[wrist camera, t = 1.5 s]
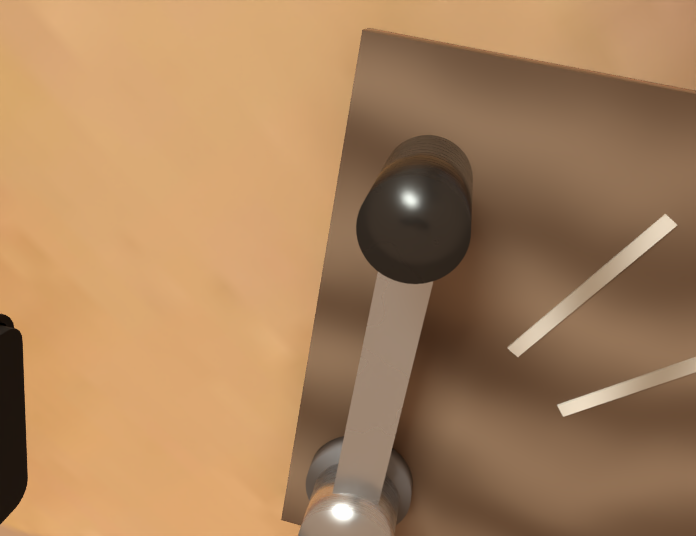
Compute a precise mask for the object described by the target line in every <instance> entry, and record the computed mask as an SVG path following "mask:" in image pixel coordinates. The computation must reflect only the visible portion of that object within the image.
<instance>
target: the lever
mask: <svg viewBox="0 0 696 536" xmlns="http://www.w3.org/2000/svg"><path fill="white" fill-rule="evenodd" d="M472 192H473V172H472V168H471V165H470V162H469V160H468V158H467V156H466V155H465V153H464V152H463V151H462V150H461V149H460V148H459V147H458V146H457V145H456V144H454V143H453V142H451V141H450V140H448V139H445V138H443V137H439V136H434V135H421V136H416V137H413V138H410V139H408V140H406V141H404V142H403V143H401V144H400V145H399V146H397V147H396V148H395V149H394V150H393V152H392V153H391V154H390V156H389V157H388V159H387V161H386V163H385V164H384V166H383V168H382V170H381V172H380V173H379V175H378V177H377V179H376V180H375V182H374V184H373V186H372V188H371V189H370V191H369V193H368V195H367V196H366V198H365V200H364V202H363V204H362V205H361V208H360V210H359V213H358V217H357V222H356V235H357V240H358V244H359V247H360V249H361V251H362V253H363V255H364V257H365V258H366V260H367V261H368V262H369V263H370V265H371V266H372V267H373V268H374V269H375V270H377V271H378V274H377V279H376V283H375V288H374V293H373V298H372V303H371V308H370V313H369V318H368V322H367V327H366V332H365V337H364V342H363V347H362V352H361V357H360V361H359V366H358V371H357V376H356V381H355V386H354V391H353V395H352V400H351V405H350V410H349V415H348V420H347V425H346V430H345V434H344V439H343V444H342V449H341V454H340V459H339V464H335V465H333V466H330V467H329V468H327V469H326V470H324V471H323V472H322V473H321V474H320V476H319V477H318V479H317V481H316V483H315V486H314V489H313V492H312V495H311V498H310V501H309V504H308V507H307V510H306V513H305V516H304V519H303V522H302V525H301V528H300V531H299V535H298V536H394V534H395V527H396V521H397V515H398V508H399V495H398V492H397V490H396V488H395V486H394V484H393V483H392V481H391V480H390V479H389V478H388V477H387V476H386V472H387V467H388V463H389V459H390V455H391V451H392V447H393V443H394V439H395V435H396V431H397V427H398V423H399V419H400V415H401V411H402V407H403V403H404V398H405V394H406V390H407V386H408V382H409V378H410V374H411V370H412V366H413V362H414V358H415V354H416V350H417V346H418V342H419V338H420V334H421V330H422V325H423V321H424V317H425V313H426V309H427V305H428V301H429V297H430V293H431V289H432V285H433V281H435V280H438V279H440V278H442V277H444V276H446V275H447V274H449V273H450V272H451V271H453V270H454V269H455V268H456V267H457V266H458V265H459V264H460V262H461V261H462V259H463V258H464V256H465V254H466V252H467V250H468V247H469V244H470V239H471V220H472Z"/></svg>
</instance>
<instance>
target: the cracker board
mask: <svg viewBox="0 0 696 536" xmlns="http://www.w3.org/2000/svg"><path fill="white" fill-rule="evenodd" d="M421 135H434V136H439V137H443V138H445V139H448V140H450V141H451V142H453V143H454V144H456V145H457V146H458V147H459V148H460V149H461V150H462V151H463V152H464V153H465V155H466V156H467V158H468V160H469V162H470V165H471V168H472V172H473V192H472V220H471V239H470V244H469V247H468V250H467V252H466V254H465V256H464V258H463V259H462V261H461V262H460V264H459V265H458V266H457V267H456V268H455V269H454V270H453V271H451V272H450V273H449V274H447V275H446V276H444V277H442V278H440V279H438V280H435V281H433V285H432V289H431V293H430V297H429V301H428V305H427V309H426V313H425V317H424V321H423V325H422V330H421V334H420V338H419V342H418V346H417V350H416V354H415V358H414V362H413V366H412V370H411V374H410V378H409V382H408V386H407V390H406V394H405V398H404V403H403V407H402V411H401V415H400V419H399V423H398V427H397V431H396V435H395V439H394V443H393V447H392V451H391V455H390V459H389V463H388V467H387V472H386V476H387V477H388V478H389V479H390V480H391V481H392V483H393V484H394V486H395V488H396V490H397V492H398V495H399V508H398V515H397V521H396V527H395V534H394V536H696V91H694V90H688V89H683V88H678V87H673V86H668V85H662V84H657V83H652V82H647V81H642V80H636V79H631V78H626V77H621V76H616V75H610V74H605V73H600V72H595V71H590V70H584V69H579V68H574V67H569V66H563V65H558V64H553V63H548V62H543V61H537V60H532V59H527V58H522V57H517V56H511V55H506V54H501V53H496V52H491V51H485V50H480V49H475V48H470V47H465V46H459V45H454V44H449V43H444V42H439V41H433V40H428V39H423V38H418V37H412V36H407V35H402V34H397V33H392V32H386V31H381V30H376V29H371V28H368V29H364V30H362V36H361V42H360V48H359V54H358V60H357V66H356V72H355V78H354V84H353V90H352V96H351V102H350V109H349V115H348V121H347V127H346V133H345V139H344V145H343V151H342V157H341V163H340V169H339V175H338V181H337V187H336V193H335V199H334V205H333V211H332V217H331V223H330V229H329V235H328V241H327V247H326V253H325V259H324V265H323V272H322V278H321V284H320V290H319V296H318V302H317V308H316V314H315V320H314V326H313V332H312V338H311V344H310V350H309V356H308V362H307V368H306V374H305V380H304V386H303V392H302V398H301V404H300V410H299V416H298V422H297V428H296V435H295V441H294V447H293V453H292V459H291V465H290V471H289V477H288V483H287V489H286V495H285V501H284V507H283V513H282V519H281V520H283V521H287V522H291V523H294V524H298V525H302V522H303V519H304V516H305V513H306V510H307V507H308V504H309V501H310V498H311V495H312V492H313V489H314V486H315V483H316V481H317V479H318V477H319V476H320V474H321V473H322V472H323V471H324V470H326V469H327V468H329V467H330V466H333V465H335V464H339V459H340V454H341V449H342V444H343V439H344V434H345V430H346V425H347V420H348V415H349V410H350V405H351V400H352V395H353V391H354V386H355V381H356V376H357V371H358V366H359V361H360V357H361V352H362V347H363V342H364V337H365V332H366V327H367V322H368V318H369V313H370V308H371V303H372V298H373V293H374V288H375V283H376V279H377V274H378V271H377V270H375V269H374V268H373V267H372V266H371V265H370V263H369V262H368V261H367V260H366V258H365V257H364V255H363V253H362V251H361V249H360V247H359V244H358V240H357V235H356V222H357V217H358V213H359V210H360V208H361V205H362V204H363V202H364V200H365V198H366V196H367V195H368V193H369V191H370V189H371V188H372V186H373V184H374V182H375V180H376V179H377V177H378V175H379V173H380V172H381V170H382V168H383V166H384V164H385V163H386V161H387V159H388V157H389V156H390V154H391V153H392V152H393V150H394V149H395V148H396V147H397V146H399V145H400V144H401V143H403V142H404V141H406V140H408V139H410V138H413V137H416V136H421Z"/></svg>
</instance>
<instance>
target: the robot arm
mask: <svg viewBox="0 0 696 536" xmlns="http://www.w3.org/2000/svg"><path fill="white" fill-rule="evenodd" d="M27 480H28V475H27V448H26V421H25V395H24V368H23V342H22V335H21V333H20V331H19V330H17V329H15V328H14V325H13V322H12V320H11V319H10V318H9V317H8V316H6V315H3V314H0V524H1V523H2V522H3V521H4V520H5V519H6V518H7V517H8V516H9V514H10V513H11V512H12V511H13V510H14V509H15V508H16V507H17V505H18V504H19V503H20V501H21V499H22V497H23V495H24V493H25V490H26V487H27Z"/></svg>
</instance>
